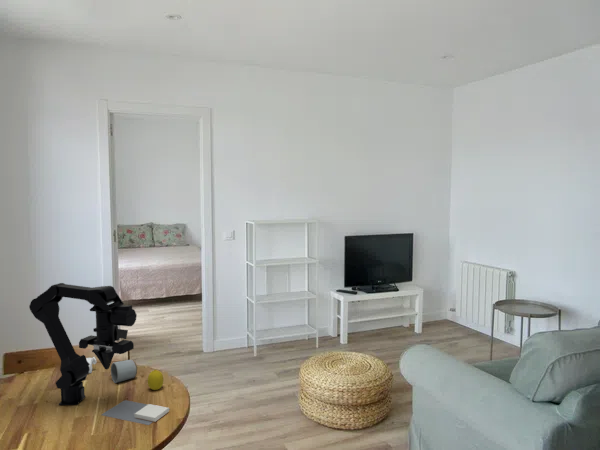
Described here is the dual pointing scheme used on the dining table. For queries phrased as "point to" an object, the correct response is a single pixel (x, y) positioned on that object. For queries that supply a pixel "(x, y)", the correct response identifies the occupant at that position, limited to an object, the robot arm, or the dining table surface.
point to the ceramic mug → (123, 370)
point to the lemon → (155, 380)
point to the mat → (127, 412)
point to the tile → (151, 412)
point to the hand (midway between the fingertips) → (107, 368)
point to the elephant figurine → (91, 362)
